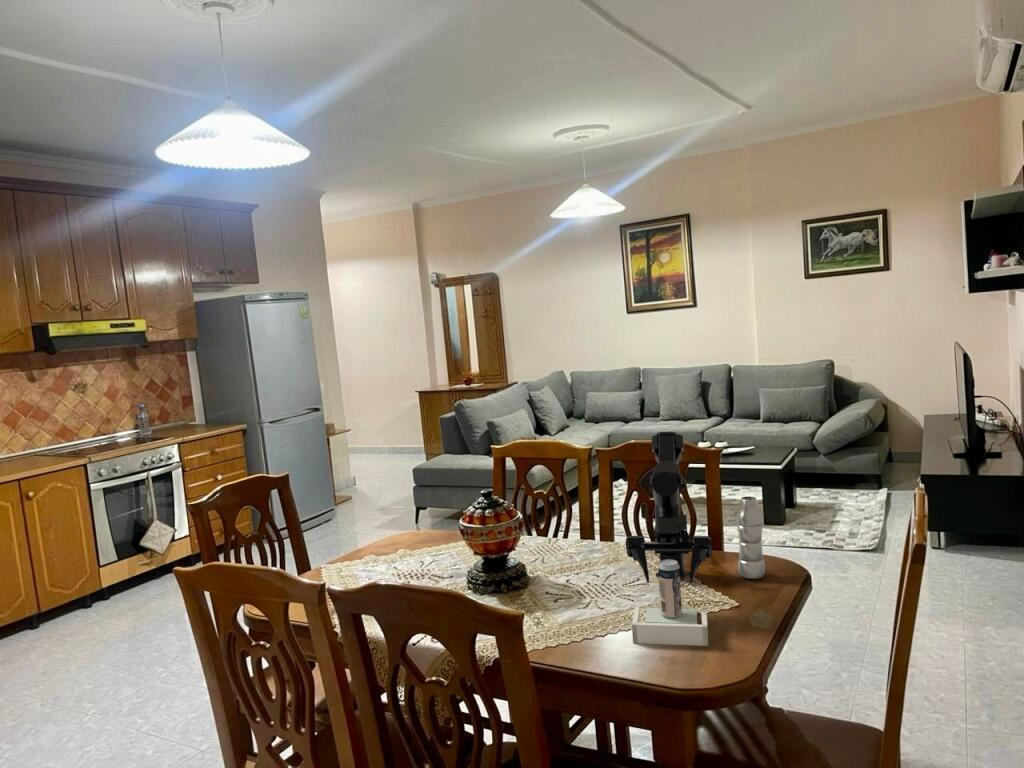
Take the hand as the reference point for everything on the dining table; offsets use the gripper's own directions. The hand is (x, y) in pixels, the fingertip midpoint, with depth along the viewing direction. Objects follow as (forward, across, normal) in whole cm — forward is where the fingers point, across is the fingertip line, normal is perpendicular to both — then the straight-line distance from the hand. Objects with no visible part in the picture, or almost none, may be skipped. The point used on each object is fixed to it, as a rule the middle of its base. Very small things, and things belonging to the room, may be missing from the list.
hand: (669, 582), depth 160 cm
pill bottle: (+5, 0, +7) cm, 8 cm away
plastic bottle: (-13, +19, +25) cm, 34 cm away
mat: (+5, 0, +7) cm, 9 cm away
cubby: (+11, 0, +1) cm, 11 cm away
